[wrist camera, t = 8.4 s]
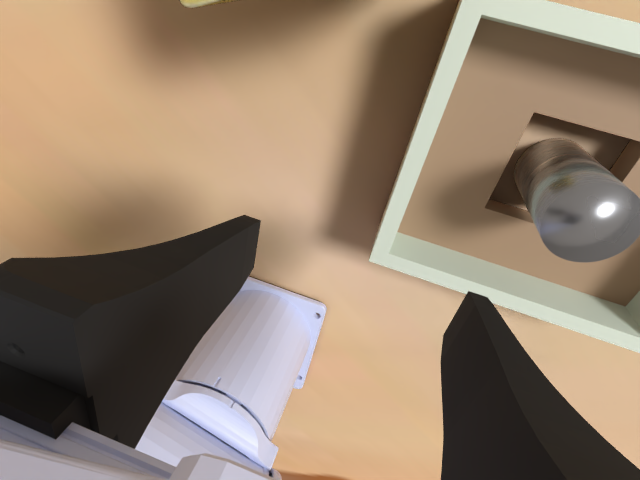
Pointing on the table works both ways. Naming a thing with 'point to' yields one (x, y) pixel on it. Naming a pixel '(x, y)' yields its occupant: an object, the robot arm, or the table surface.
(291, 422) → the table surface
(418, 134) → the box
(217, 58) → the table surface
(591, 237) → the peg
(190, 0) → the flower pot
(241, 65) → the table surface
